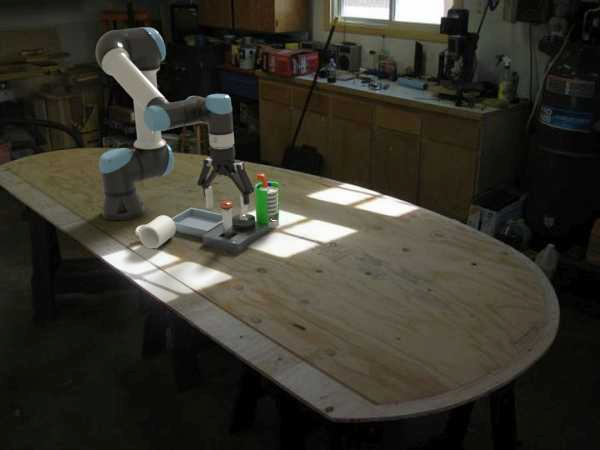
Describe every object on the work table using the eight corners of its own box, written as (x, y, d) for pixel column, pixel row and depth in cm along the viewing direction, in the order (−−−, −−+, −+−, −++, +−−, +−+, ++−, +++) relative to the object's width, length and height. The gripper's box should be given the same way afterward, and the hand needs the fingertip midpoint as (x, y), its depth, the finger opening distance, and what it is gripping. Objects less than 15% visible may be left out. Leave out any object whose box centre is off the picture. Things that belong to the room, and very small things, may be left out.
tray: (166, 229, 210) (165, 221, 209) (191, 214, 221) (191, 207, 220) (208, 239, 202) (207, 230, 201) (232, 223, 213) (231, 216, 212)
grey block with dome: (203, 244, 198) (201, 225, 195) (234, 224, 212) (233, 207, 210) (238, 252, 192) (237, 234, 189) (268, 231, 206) (267, 214, 204)
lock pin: (220, 244, 198) (217, 204, 192) (227, 239, 201) (224, 200, 195) (230, 246, 196) (227, 206, 190) (237, 242, 199) (234, 202, 194)
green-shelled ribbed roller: (275, 229, 208) (274, 180, 201) (253, 228, 209) (250, 179, 202) (281, 219, 216) (280, 171, 209) (260, 217, 218) (257, 170, 210)
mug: (177, 238, 203) (175, 216, 200) (161, 250, 194) (159, 228, 191) (146, 233, 207) (143, 212, 203) (129, 246, 198) (126, 223, 195)
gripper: (182, 144, 188) (189, 207, 196) (249, 153, 176) (253, 220, 185) (197, 138, 194) (203, 200, 202) (263, 147, 182) (266, 212, 191)
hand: (227, 210), depth 194 cm, fingers open, 13 cm apart
